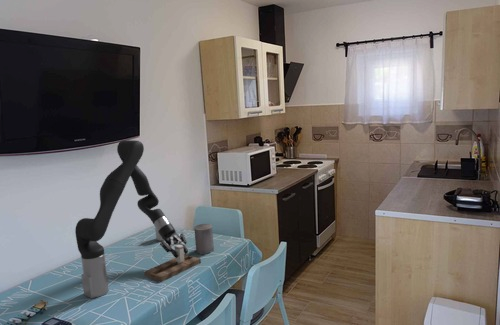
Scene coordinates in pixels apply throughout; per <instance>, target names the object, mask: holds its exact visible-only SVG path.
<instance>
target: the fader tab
mask: <svg viewBox="0 0 500 325" xmlns="http://www.w3.org/2000/svg"><path fill="white" fill-rule="evenodd" d="M174 250H176V252H177V253H178V255H179V256H178V257H177V258H176V257H175V258H176V261H177V262H178V264H180V263H182V262H183V261H185V260H184V254H185V253H184V247H183V245H182V244H181V245H179V244H178V245H176V244H175V245H174Z"/></svg>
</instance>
